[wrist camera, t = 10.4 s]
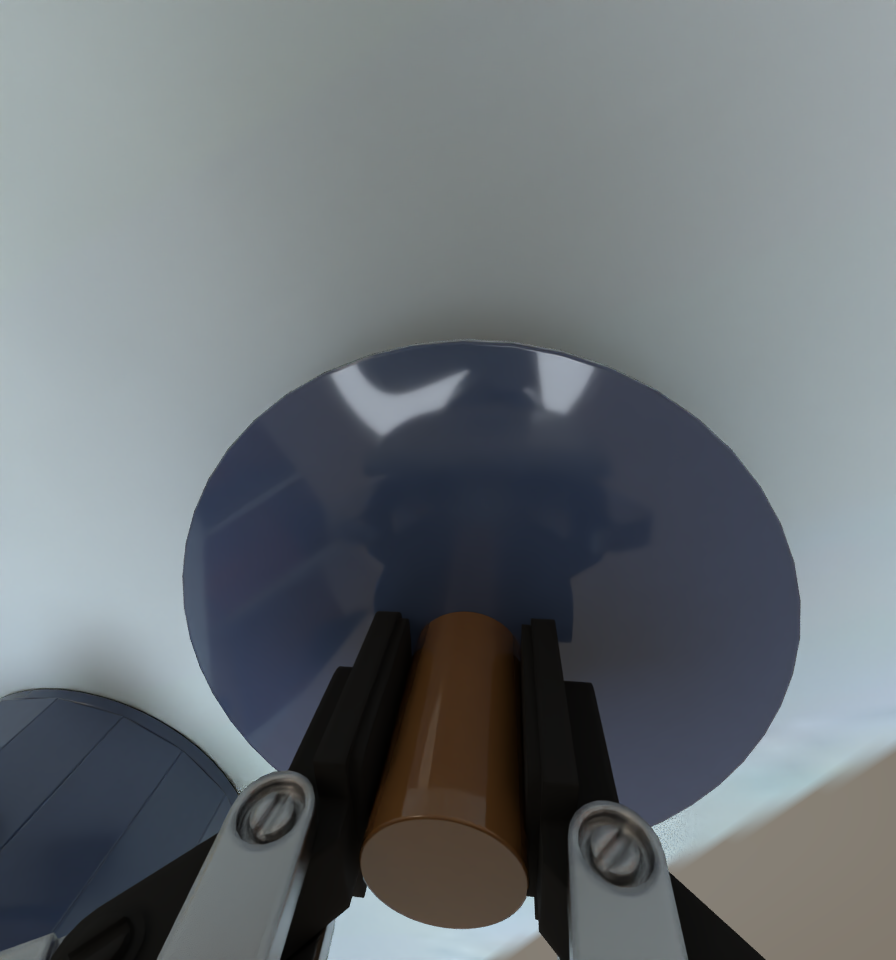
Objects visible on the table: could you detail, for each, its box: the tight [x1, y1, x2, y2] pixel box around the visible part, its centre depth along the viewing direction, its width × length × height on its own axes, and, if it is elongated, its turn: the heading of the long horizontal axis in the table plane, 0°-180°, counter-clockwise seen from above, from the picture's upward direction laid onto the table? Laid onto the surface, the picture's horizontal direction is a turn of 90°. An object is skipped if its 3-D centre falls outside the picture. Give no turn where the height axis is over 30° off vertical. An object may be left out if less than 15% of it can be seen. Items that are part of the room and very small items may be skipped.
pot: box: [0, 689, 238, 952], centre depth 18 cm, size 14×19×8 cm
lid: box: [182, 339, 800, 929], centre depth 10 cm, size 15×15×6 cm
